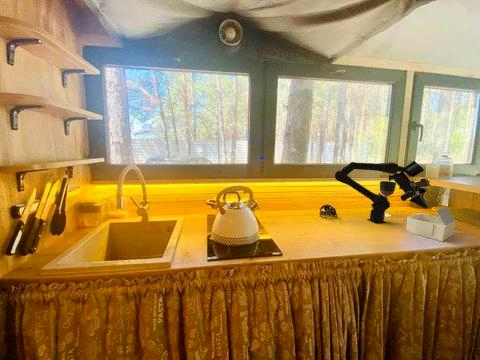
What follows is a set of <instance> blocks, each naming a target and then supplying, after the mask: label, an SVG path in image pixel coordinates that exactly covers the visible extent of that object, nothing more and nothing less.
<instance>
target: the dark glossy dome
mask: <svg viewBox="0 0 480 360" xmlns="http://www.w3.org/2000/svg"><path fill="white" fill-rule="evenodd" d="M322 216H323V217H324V216H335V217H336V218H338V213H337V209H336V208H335V207H334V206H333V205H332V204H329V203H326V204H323V205H321V206H320V207H319V217H322Z"/></svg>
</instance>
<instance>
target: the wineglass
mask: <svg viewBox="0 0 480 360" xmlns="http://www.w3.org/2000/svg"><path fill="white" fill-rule="evenodd" d="M396 186H397V183H396V182H395V181H389V180H381V181H379V191H380V192H379V193H380V194H381V195H383V196H385V197H386V198H387V199H388V197H389V196H392V195H393V194H394V193H395V191H396ZM385 217H392V215H391V214H390V213H386V212H385Z"/></svg>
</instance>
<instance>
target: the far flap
mask: <svg viewBox="0 0 480 360" xmlns="http://www.w3.org/2000/svg"><path fill="white" fill-rule="evenodd" d="M435 213H436V214H437V217H440V219H441V220H442V222H443V223H444V225H448V224H450V223H452V222H454V221H455V222H456V218H455V217H454V215H452V213H451V211H450V210H449V208H448V207H447V206H444V207H442V208H439V209H436V210H435Z"/></svg>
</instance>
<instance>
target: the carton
mask: <svg viewBox="0 0 480 360" xmlns="http://www.w3.org/2000/svg"><path fill="white" fill-rule="evenodd" d="M455 226H456V221H454V222H452V223H450V224H448V225H444V223H443V222H442V220H441V219H440V217H439V216H434V215H431V214H425V213H418V212H417V213H415V214H412V215H409V216H407V219H406V224H405V229H406V232H407V233H410V234H414V235H417V236H421V237H424V238H425V237H426V238H427V239H428V238H429V239H432V240H435V241H439V242H442V243H443V242H444V241H446V240H448V239H449V238H451V237H452V236H454V232H455V231H454V230H455Z"/></svg>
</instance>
